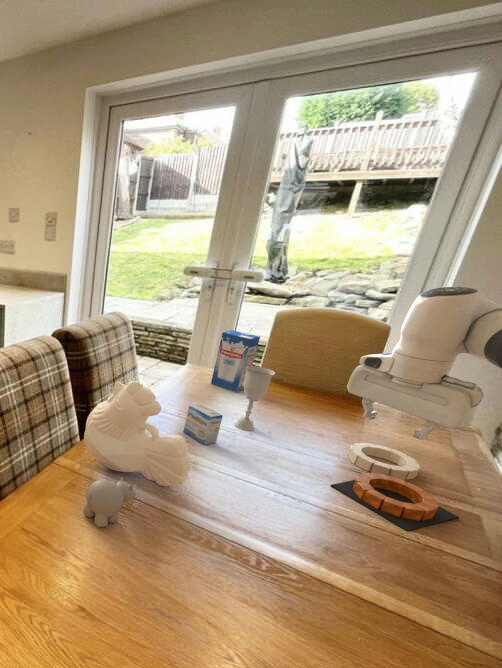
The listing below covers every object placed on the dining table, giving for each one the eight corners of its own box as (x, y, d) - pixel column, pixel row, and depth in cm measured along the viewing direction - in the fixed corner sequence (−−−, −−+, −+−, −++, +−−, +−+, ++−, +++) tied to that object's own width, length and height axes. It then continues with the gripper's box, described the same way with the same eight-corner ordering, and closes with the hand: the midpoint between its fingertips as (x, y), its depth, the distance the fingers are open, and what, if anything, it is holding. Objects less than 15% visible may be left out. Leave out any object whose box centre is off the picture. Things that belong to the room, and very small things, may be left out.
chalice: (264, 429, 116) (281, 373, 109) (247, 434, 114) (264, 376, 107) (241, 419, 122) (256, 364, 116) (225, 422, 120) (239, 367, 113)
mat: (458, 518, 82) (459, 516, 81) (407, 531, 78) (408, 530, 78) (377, 476, 95) (377, 474, 95) (330, 486, 91) (330, 484, 91)
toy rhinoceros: (145, 517, 81) (152, 483, 78) (98, 534, 77) (103, 498, 74) (121, 496, 88) (127, 464, 84) (77, 511, 83) (80, 477, 80)
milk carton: (246, 389, 144) (260, 336, 137) (236, 392, 142) (250, 339, 134) (220, 380, 152) (232, 330, 145) (210, 383, 150) (222, 332, 142)
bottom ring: (429, 475, 96) (433, 466, 95) (391, 483, 92) (395, 474, 92) (370, 448, 107) (373, 440, 106) (335, 454, 104) (338, 446, 103)
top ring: (448, 514, 82) (453, 504, 81) (404, 525, 79) (409, 515, 78) (379, 478, 94) (383, 469, 93) (338, 486, 91) (342, 477, 90)
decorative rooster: (67, 425, 104) (99, 379, 82) (116, 405, 109) (158, 357, 87) (119, 515, 94) (170, 490, 72) (170, 489, 98) (233, 458, 77)
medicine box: (182, 432, 115) (188, 405, 111) (194, 429, 116) (200, 403, 113) (204, 445, 108) (211, 417, 104) (216, 442, 109) (223, 414, 106)
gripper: (499, 384, 72) (466, 450, 77) (373, 352, 90) (353, 406, 95) (476, 388, 70) (444, 454, 75) (352, 354, 89) (333, 409, 94)
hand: (392, 427), depth 86 cm, fingers open, 8 cm apart
